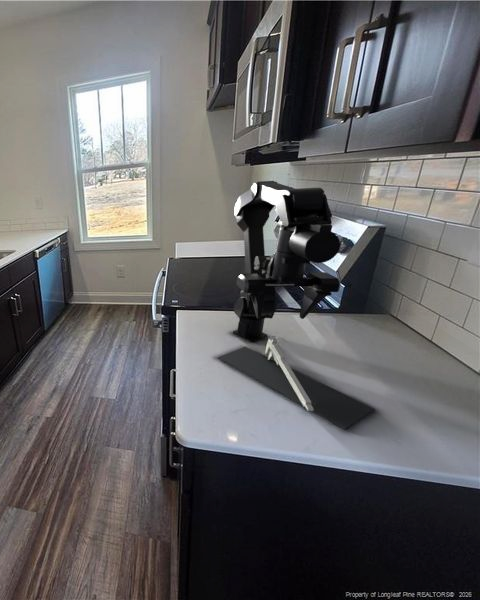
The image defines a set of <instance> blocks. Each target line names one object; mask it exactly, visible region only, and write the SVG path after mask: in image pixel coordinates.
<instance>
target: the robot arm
mask: <svg viewBox="0 0 480 600" xmlns="http://www.w3.org/2000/svg"><path fill="white" fill-rule="evenodd" d="M274 207H275V210H274V212H275V213H276V214H277V216H278V217H279V221H278V222H277V224H276V225H277V227H279V229H278V230H279V231H278V237H277V243H276V249H275V252H273V253H272V254H271V258H270V259H268V258H267V256H266V251H265V250H266V249H265V236H264V227H265V225H266V223H267V221H268V220H269V218H270V213H271V211H272V210H273V209H274ZM330 208H331V207H330V205H329V202H328V198H327V194H325V190H324V189H323V188H322V187H319V186H318V187H303V188H302V187H301V188H300V187H299V188H295V187H292V186H288V185H285V184H282V183H278V182H277V181H274V180H262V181H261V180H260V181H257V182H254V183H253V184H252V185H251V187H250V189H248V190H246V191H245V192H243V193H242V194H241V195H239V197H238V198H237V201H236V202H235V204H234V207H233V215H234V217H235V220H236V221H235V222H236V225H237V226H238V227H239V229H240V230H241V231H242V232H243V246H244V248H243V249H244V264H245V273H240V275H238V277H237V278H236V286H237V287H238V288H239V289H240V292H239V293H240V296H239V298H238V299H237V301H236V302H235V303H234V305H233V313H234V314H235V315H236V317H237V318H238V323H237V329H236V330H233V331H232V334H233V335H236V336H237V337H239V338H242V339H244V340H247V341H249V342H251V343H254V342H256V341H260V340H262V339H265V338H267V337H268V334H267V333H265V332H263V330H264V324H265V319H273V317H274V315H275V313H276V310H277V308H278V299H277V297H276V296H277V295H276V288H283V287H285V288H287V287H290V288H291V287H302V288H303V297H302V301H301V306H300V310H299V318H300V319H301V320H304V319H305V318H306V317H307V316H308V315H309V314H310V312H312V311H313V309H315V308H316V306H318V304H320V303H321V302H322V301H323V300H325V298H326V297H331V296H332V295H333V293H339V292H340V290H341V285H342V283H341V280H340V279H339V277H337V276H334V275H333V274H331V273H329V272H326V271H325V272H308V273H307V274H306V275H305V270H306V265H307V264H310V263H311V262H312V263H316V264H324V263H326V262H329V261H331V260H332V259H333V258H335V257H336V256H337V254H338V253H339V251H340V249H341V241H340V240H341V239H340V238H339V236H338V235H337V234H336V233H334V232H333V231H332V229H333V225H332V217H333V214H332V211H331V209H330ZM267 276H268V277H267Z"/></svg>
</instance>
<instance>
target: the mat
mask: <svg viewBox="0 0 480 600" xmlns="http://www.w3.org/2000/svg"><path fill="white" fill-rule="evenodd" d="M217 359H218V360H220V361H221V362H223V363H225V364H227V365H229V366H231V367H232V368H234V369H236V370H237V371H240V372H241V373H243V374H244V375H246V376H248V377H250V378H252V379H254V380H256V381H257V382H259V383H261V384H263V385H264V386H266V387H268V388H269V389H271V390H273V391H275V392H277V393H278V394H280V395H282V396H284V397H286V398H287V399H289V400H290V401H291V400H292V401H293V402H294V403H297V404H298V405H300V406H301V407H303V408H305V409H306V407H304V406H303V405H302V403H301V401H300V400H299V398H298V396H297V394H296V393H295V391H294V389H293V387H292V386H291V384H290V382H289V380H288V379H287V377H286V375H285V373H284V372H283V370H282V368H281V367H280V365H277V363H276V362H275V360H274V359H273V360H268V356H266V355H265V354H262V353H259V352H257V351H256V350H253V349H252V348H250V347H247V346H243V347H241V348H237V349H235V350H233V351H230V352H227V353H225V354H221V355H219V356H218V357H217ZM291 370H292V371H293V373H294V375H295V376H296V378H297V379H298V381H299V383H300V384H301V386H302V388H303V389H304V391H305V392H306V394H307V396H308V397H309V399H310V401H311V405H312V407H313V410H314V411H311V412H312V413H314V414H316V415H318V416H319V417H321V418H323V419H325V420H327V421H328V422H330V423H332V424H333V425H336V426H337V427H339V428H341V429H342V430H343V431H345V430H347V429H349V428H350V427H352V426H353V425H355V424H356V423H358V422H359V421H361V420H362V419H364V418H365V417H367V416H369V415H370V414H372V413H373V412H374V411H375V410H376V408H374V407H372V406H370V405H368V404H366V403H364V402H362V401H361V400H357V399H355V398H354V397H351V396H350V395H347V394H345V393H343V392H341V391H339V390H336V389H335V388H333V387H330V386H329V385H326V384H324V383H322V382H320V381H319V380H316V379H314V378H311V377H310V376H307V375H306V374H303V373H301V372H299V371H298V370H295V369H293V368H291Z"/></svg>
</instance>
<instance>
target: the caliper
mask: <svg viewBox="0 0 480 600" xmlns="http://www.w3.org/2000/svg"><path fill="white" fill-rule="evenodd" d="M277 343H278V339H277V336H276V335H272V336H270V338H269V337H268V339H267V342H266V346H265V352H264V356H266V357H268V360H274V361H275V362H276V363H277V365H280V367H281V368H282V370H283V372H284V373H285V375H286V377H287V379H288V380H289V382H290V384H291V386H292V387H293V389H294V391H295V393H296V394H297V396H298V398H299V400H300V401H301V403H302V405H303V406H304V407H303V406H302V405H301V406H302V407H303V408H305V407H306V408H305V409H306V411H308V412H310V411H311V412H312V411H314V410H313V407H312V405H311V401H310V399H309V397H308V396H307V394H306V392H305V391H304V389H303V388H302V386H301V384H300V383H299V381H298V379H297V378H296V376H295V375H294V373H293V371H292V370H291V369H292V368H291V366H290V365H289V363H288V361H287V360H286V356H285V355H284V353H283V351H282V349H281V348H280V346H279V344H277Z"/></svg>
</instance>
